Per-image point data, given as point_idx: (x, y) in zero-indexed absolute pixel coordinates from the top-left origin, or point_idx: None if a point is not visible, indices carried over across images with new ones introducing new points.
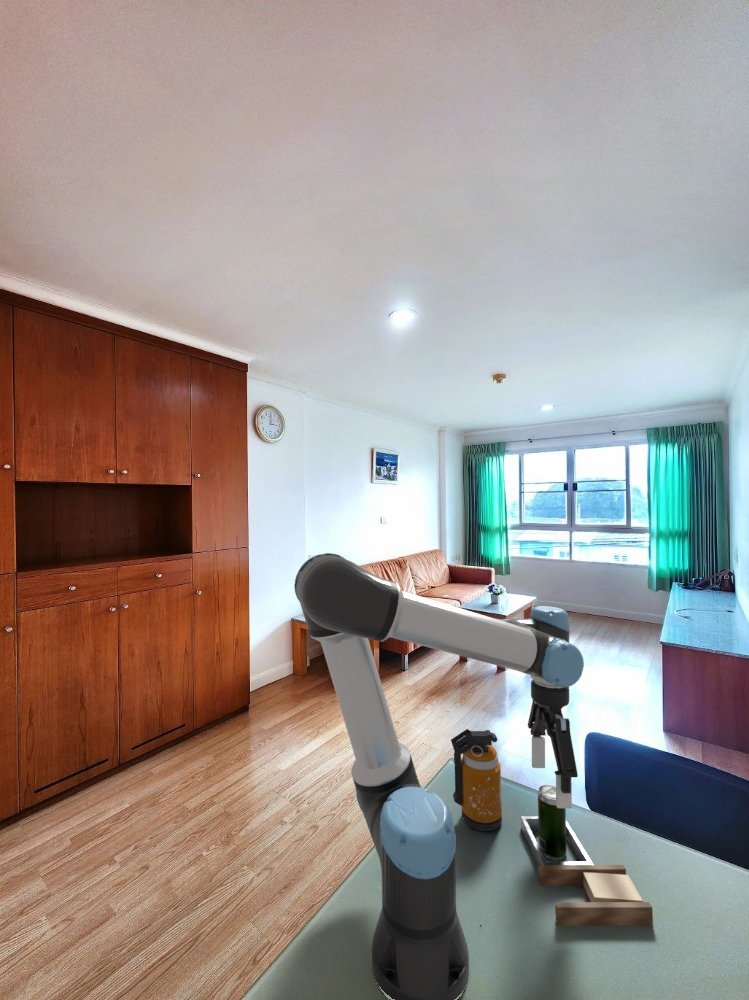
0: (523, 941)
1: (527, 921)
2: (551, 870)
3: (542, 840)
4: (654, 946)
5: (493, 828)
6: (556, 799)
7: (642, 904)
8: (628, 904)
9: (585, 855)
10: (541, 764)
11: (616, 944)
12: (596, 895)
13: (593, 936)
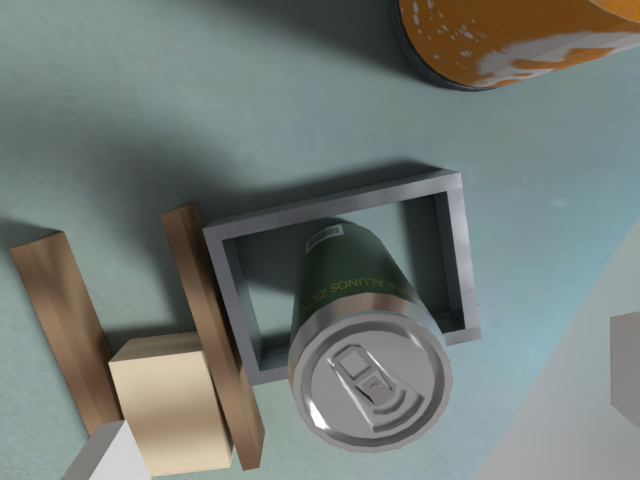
0: None
1: (28, 147)
2: (172, 253)
3: (316, 242)
4: (77, 443)
5: (404, 49)
6: (88, 462)
7: None
8: None
9: (286, 371)
10: (635, 399)
11: (49, 366)
12: (116, 369)
13: None
